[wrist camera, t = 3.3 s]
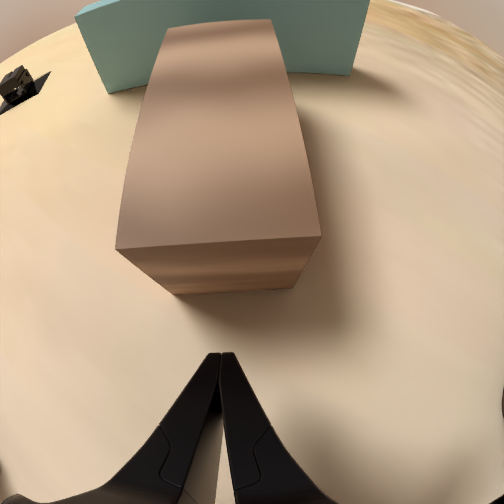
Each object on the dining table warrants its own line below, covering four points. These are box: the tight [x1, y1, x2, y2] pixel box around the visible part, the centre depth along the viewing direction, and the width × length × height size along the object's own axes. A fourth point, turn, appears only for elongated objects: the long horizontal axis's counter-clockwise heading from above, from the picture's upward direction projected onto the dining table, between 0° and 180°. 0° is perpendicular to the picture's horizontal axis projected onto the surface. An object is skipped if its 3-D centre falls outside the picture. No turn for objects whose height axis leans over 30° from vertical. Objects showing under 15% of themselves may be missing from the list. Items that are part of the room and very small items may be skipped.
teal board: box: [75, 0, 370, 94], centre depth 20 cm, size 8×24×10 cm, turn 94°
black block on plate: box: [0, 65, 51, 115], centre depth 24 cm, size 12×7×5 cm, turn 99°
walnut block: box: [115, 19, 322, 295], centre depth 16 cm, size 16×7×8 cm, turn 4°
